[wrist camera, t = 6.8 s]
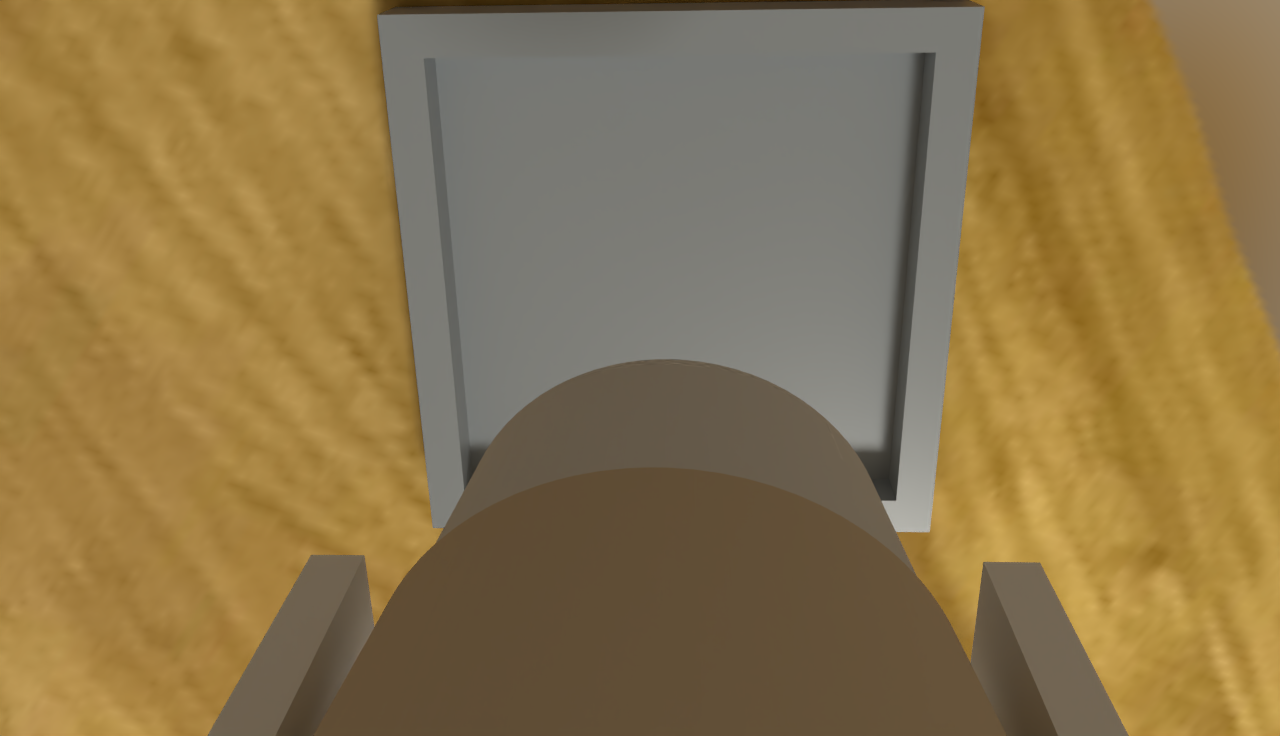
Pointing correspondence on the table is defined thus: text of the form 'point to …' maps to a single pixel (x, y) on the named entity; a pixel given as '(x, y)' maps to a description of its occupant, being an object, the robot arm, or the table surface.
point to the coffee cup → (664, 581)
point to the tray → (684, 209)
